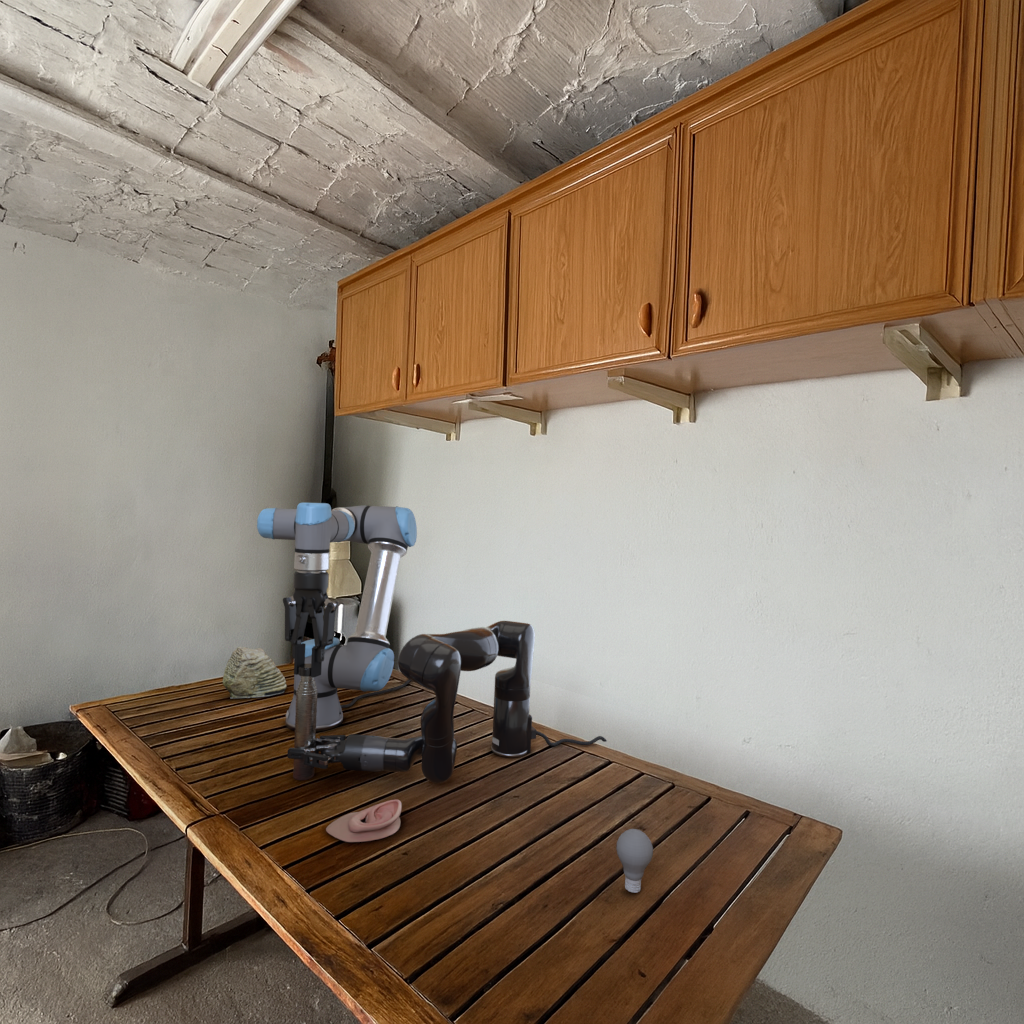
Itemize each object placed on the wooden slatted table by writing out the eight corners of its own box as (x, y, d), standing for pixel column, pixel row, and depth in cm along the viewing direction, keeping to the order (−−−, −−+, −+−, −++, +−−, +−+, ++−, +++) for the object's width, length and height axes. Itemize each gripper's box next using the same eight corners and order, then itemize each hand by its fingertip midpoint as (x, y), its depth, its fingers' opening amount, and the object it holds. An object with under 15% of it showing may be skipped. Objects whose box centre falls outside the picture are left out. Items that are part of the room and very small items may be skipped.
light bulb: (610, 879, 108) (613, 822, 108) (644, 879, 109) (647, 822, 109) (619, 902, 102) (622, 840, 102) (655, 901, 103) (658, 840, 103)
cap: (320, 673, 144) (321, 664, 144) (309, 677, 140) (309, 668, 140) (305, 670, 145) (306, 662, 145) (294, 675, 142) (294, 666, 141)
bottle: (289, 779, 141) (294, 670, 141) (297, 771, 146) (301, 664, 145) (309, 781, 141) (313, 671, 140) (317, 772, 145) (321, 666, 145)
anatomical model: (318, 816, 117) (346, 789, 129) (317, 837, 118) (346, 808, 129) (385, 827, 115) (408, 798, 126) (384, 848, 115) (407, 818, 126)
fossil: (218, 695, 195) (220, 647, 195) (278, 685, 208) (279, 640, 207) (228, 703, 189) (230, 653, 188) (289, 692, 201) (290, 645, 201)
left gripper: (269, 569, 142) (265, 673, 142) (333, 575, 136) (328, 684, 136) (291, 566, 149) (287, 665, 149) (353, 572, 143) (349, 675, 143)
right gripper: (376, 725, 150) (305, 721, 150) (358, 749, 135) (280, 744, 136) (374, 756, 150) (303, 752, 150) (357, 783, 135) (279, 778, 136)
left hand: (307, 674), depth 143 cm, fingers closed on cap, 4 cm apart
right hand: (293, 748), depth 143 cm, fingers closed on bottle, 4 cm apart
